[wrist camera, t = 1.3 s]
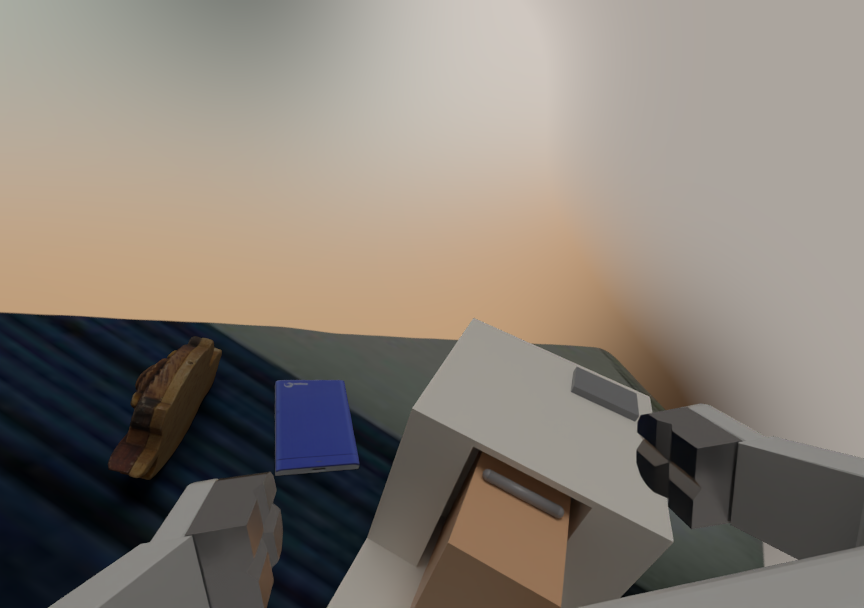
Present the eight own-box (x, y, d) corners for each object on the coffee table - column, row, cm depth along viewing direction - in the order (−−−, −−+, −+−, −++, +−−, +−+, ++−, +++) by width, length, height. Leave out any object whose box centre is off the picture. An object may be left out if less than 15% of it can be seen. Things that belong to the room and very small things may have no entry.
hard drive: (275, 379, 49) (275, 469, 40) (344, 379, 53) (360, 462, 43) (274, 389, 50) (274, 479, 40) (342, 388, 53) (357, 472, 44)
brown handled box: (393, 647, 27) (451, 535, 21) (445, 520, 35) (496, 415, 29) (479, 703, 26) (566, 600, 20) (510, 557, 34) (578, 455, 28)
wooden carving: (179, 375, 47) (178, 301, 42) (223, 380, 48) (226, 309, 44) (100, 512, 33) (85, 425, 29) (164, 515, 34) (159, 431, 30)
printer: (311, 650, 30) (366, 471, 20) (419, 456, 47) (475, 312, 37) (522, 793, 26) (702, 659, 17) (555, 529, 44) (653, 391, 34)
